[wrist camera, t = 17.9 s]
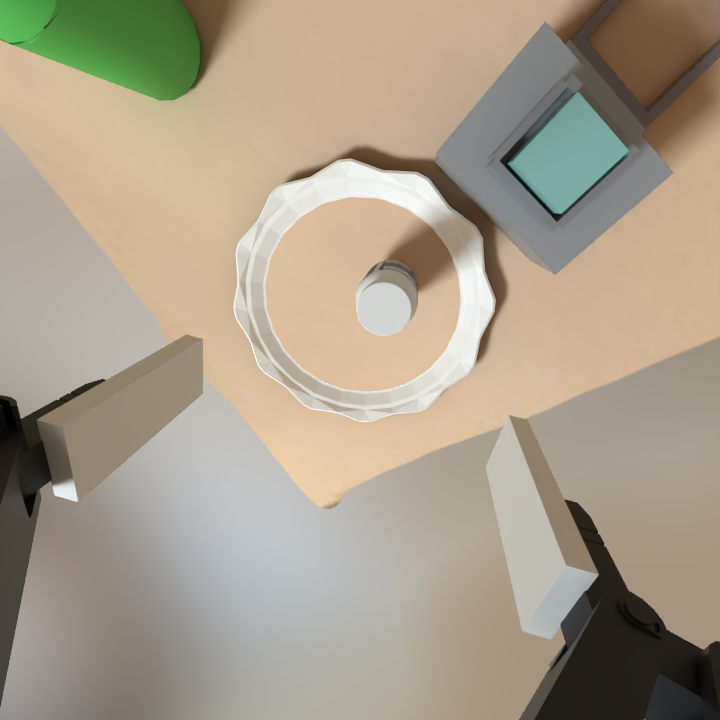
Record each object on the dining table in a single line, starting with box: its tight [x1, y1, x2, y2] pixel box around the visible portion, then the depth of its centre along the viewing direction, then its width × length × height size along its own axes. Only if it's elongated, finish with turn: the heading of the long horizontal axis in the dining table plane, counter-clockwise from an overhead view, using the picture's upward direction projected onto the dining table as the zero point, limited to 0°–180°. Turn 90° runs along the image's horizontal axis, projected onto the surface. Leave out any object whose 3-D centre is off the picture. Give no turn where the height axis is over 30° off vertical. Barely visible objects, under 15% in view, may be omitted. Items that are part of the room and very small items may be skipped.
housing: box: [435, 0, 720, 275], centre depth 27 cm, size 23×14×10 cm, turn 139°
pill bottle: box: [356, 260, 418, 336], centre depth 35 cm, size 6×6×10 cm
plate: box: [233, 158, 496, 422], centre depth 42 cm, size 29×29×2 cm
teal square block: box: [504, 92, 629, 214], centre depth 25 cm, size 5×5×3 cm
